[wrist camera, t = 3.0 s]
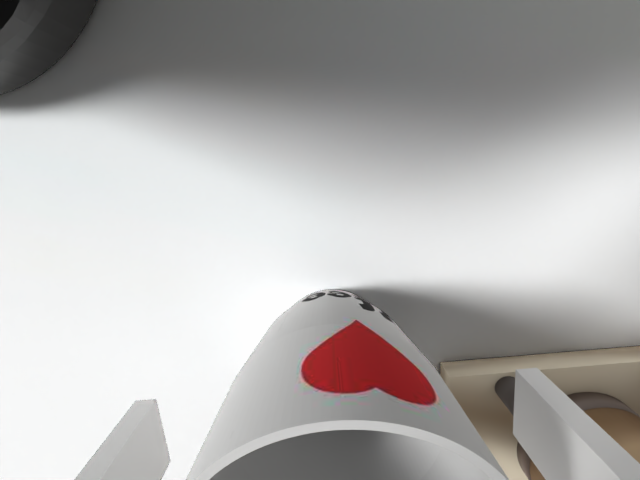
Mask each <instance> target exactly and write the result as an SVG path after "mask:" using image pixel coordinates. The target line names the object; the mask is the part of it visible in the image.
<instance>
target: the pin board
mask: <svg viewBox="0 0 640 480" xmlns="http://www.w3.org/2000/svg"><path fill="white" fill-rule="evenodd" d="M527 368H538V369H539V370H540V371H541V372H542V373H543V374H544V375H545V376H546V377H547V378H549V379H550V380H551V381H552V382H553V383H554V384H555V385H556V386H557V387H558V388H559V389H560V390H561V391H562V392H564V393H565V394H566V395H569V394H573V393H580V392H598V393H603V394H607V395H610V396H613V397H615V398H617V399H619V400H620V401H622V402H623V403H624V404H626V405H627V406H628V407H629V408H631V409H632V410H633V411H634V412H636V413H637V414H638V415H639V416H640V346H631V347H619V348H607V349H595V350H584V351H572V352H560V353H548V354H536V355H524V356H512V357H500V358H488V359H476V360H464V361H452V362H440V376H441V377H442V379H443V380H444V382H445V383H446V385H447V386H448V388H449V389H450V391H451V393H452V394H453V396H454V397H455V399H456V400H457V402H458V403H459V405H460V406H461V408H462V409H463V411H464V412H465V414H466V415H467V417H468V418H469V420H470V421H471V423H472V424H473V426H474V427H475V429H476V430H477V432H478V433H479V435H480V436H481V438H482V439H483V441H484V442H485V444H486V445H487V447H488V448H489V450H490V451H491V453H492V454H493V456H494V457H495V459H496V460H497V462H498V463H499V465H500V466H501V468H502V469H503V471H504V473H505V474H506V476H507V477H508V479H509V480H528V478H527V476H526V475H525V473H524V472H523V470H522V468H521V467H520V464H519V462H518V458H517V443H518V440H517V439H516V438H515V436H514V435H513V417H514V394H515V371H516V369H527Z"/></svg>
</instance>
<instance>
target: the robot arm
mask: <svg viewBox="0 0 640 480" xmlns="http://www.w3.org/2000/svg"><path fill="white" fill-rule="evenodd" d="M96 1H97V0H0V94H3V93H6V92H9V91H11V90H14V89H16V88H18V87H21V86H23V85H25V84H26V83H28V82H30V81H32V80H34V79H35V78H37V77H38V76H40V75H41V74H42V73H44V72H45V71H46V70H48V69H49V68H50V67H51V66H53V65H54V64H55V63H56V62H57V61H58V60H59V59H60V58H61V57H62V56H63V55H64V54H65V53H66V51H67V50H68V49H69V48H70V47H71V46H72V44H73V43H74V41H75V40H76V39H77V37H78V36H79V34H80V33H81V31H82V29H83V28H84V26H85V24H86V23H87V21H88V19H89V17H90V15H91V13H92V11H93V9H94V6H95V3H96ZM513 435H514V436H515V438H516V439H517V440H518V442H519V443H520V445H521V446H522V447H523V449H524V450H525V452H526V453H527V454H528V456H529V457H530V459H531V460H532V461H533V463H534V464H535V466H536V467H537V468H538V470H539V471H540V472H541V474H542V475H543V477H544V478H545V479H546V480H640V464H639V463H638V462H637V461H636V460H635V459H634V458H633V457H632V456H631V455H630V454H629V453H628V452H627V451H626V450H625V449H623V448H622V447H621V446H620V445H619V444H618V443H617V442H616V441H615V440H614V439H613V438H612V437H611V436H610V435H608V434H607V433H606V432H605V431H604V430H603V429H602V428H601V427H600V426H599V425H598V424H597V423H596V422H595V421H593V420H592V419H591V418H590V417H589V416H588V415H587V414H586V413H585V412H584V411H583V410H582V409H581V408H580V407H578V406H577V405H576V404H575V403H574V402H573V401H572V400H571V399H570V398H569V397H568V396H567V395H566V394H565V393H564V392H562V391H561V390H560V389H559V388H558V387H557V386H556V385H555V384H554V383H553V382H552V381H551V380H550V379H549V378H547V377H546V376H545V375H544V374H543V373H542V372H541V371H540V370H539V369H538V368H527V369H516V371H515V394H514V417H513ZM169 463H170V457H169V452H168V448H167V444H166V439H165V435H164V431H163V426H162V422H161V418H160V414H159V409H158V405H157V401H156V399H152V400H140V401H135V402H134V404H133V405H132V406H131V407H130V409H129V410H128V411H127V413H126V414H125V415H124V416H123V418H122V419H121V420H120V422H119V423H118V424H117V425H116V427H115V428H114V429H113V431H112V432H111V433H110V434H109V436H108V437H107V438H106V440H105V441H104V442H103V443H102V445H101V446H100V447H99V449H98V450H97V451H96V453H95V454H94V455H93V456H92V458H91V459H90V460H89V462H88V463H87V464H86V465H85V467H84V468H83V469H82V471H81V472H80V473H79V474H78V476H77V477H76V478H75V480H161V479H162V477H163V475H164V473H165V471H166V469H167V467H168V465H169Z"/></svg>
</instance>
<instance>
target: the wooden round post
mask: <svg viewBox="0 0 640 480" xmlns="http://www.w3.org/2000/svg"><path fill="white" fill-rule="evenodd" d="M567 396H568V397H569V398H570V399H571V400H572V401H573V402H574V403H575V404H576V405H577V406H578V407H580V408H581V409H582V410H583V411H584V412H585V413H586V414H587V415H588V416H589V417H590V418H591V419H592V420H593V421H595V422H596V423H597V424H598V425H599V426H600V427H601V428H602V429H603V430H604V431H605V432H606V433H607V434H608V435H610V436H611V437H612V438H613V439H614V440H615V441H616V442H617V443H618V444H619V445H620V446H621V447H622V448H623V449H625V450H626V451H627V452H628V453H629V454H630V455H631V456H632V457H633V458H634V459H635V460H636V461H637V462H638V463H639V464H640V416H639V415H638V414H637V413H636V412H634V411H633V410H632V409H631V408H629V407H628V406H627V405H626V404H624V403H623V402H622V401H620V400H619V399H617V398H615V397H613V396H610V395H607V394H603V393H598V392H580V393H573V394H569V395H567ZM517 458H518V462H519V464H520V467H521V468H522V470H523V472H524V473H525V475H526V476H527V478H528V480H546V479H545V478H544V477H543V475H542V474H541V472H540V471H539V470H538V468H537V467H536V466H535V464H534V463H533V461H532V460H531V459H530V457H529V456H528V454H527V453H526V452H525V450H524V449H523V447H522V446H521V445H520V443H519V442H518V443H517Z"/></svg>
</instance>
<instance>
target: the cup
mask: <svg viewBox="0 0 640 480" xmlns="http://www.w3.org/2000/svg"><path fill="white" fill-rule="evenodd" d="M186 480H509V479H508V477H507V476H506V474H505V473H504V471H503V469H502V468H501V466H500V465H499V463H498V462H497V460H496V459H495V457H494V456H493V454H492V453H491V451H490V450H489V448H488V447H487V445H486V444H485V442H484V441H483V439H482V438H481V436H480V435H479V433H478V432H477V430H476V429H475V427H474V426H473V424H472V423H471V421H470V420H469V418H468V417H467V415H466V414H465V412H464V411H463V409H462V408H461V406H460V405H459V403H458V402H457V400H456V399H455V397H454V396H453V394H452V393H451V391H450V389H449V388H448V386H447V385H446V383H445V382H444V380H443V379H442V377H441V376H440V374H439V373H438V371H437V370H436V369H435V367H434V366H433V365H432V364H431V362H430V361H429V360H428V359H427V358H426V357H425V356H424V355H423V354H422V352H421V351H420V350H419V349H418V348H417V347H416V346H415V345H414V343H413V342H412V341H411V340H410V339H409V338H408V337H407V336H406V335H405V333H404V332H403V331H402V330H401V329H400V328H399V327H398V326H397V325H396V323H395V322H394V321H393V320H392V319H391V318H390V317H389V316H388V315H387V314H385V313H384V312H383V311H382V310H380V309H379V308H377V307H375V306H374V305H372V304H370V303H369V302H367V301H365V300H364V299H362V298H360V297H359V296H357V295H355V294H352V293H350V292H347V291H342V290H322V291H317V292H314V293H311V294H309V295H307V296H305V297H304V298H302V299H301V300H299V301H298V302H297V303H295V304H294V305H293V306H292V307H290V308H289V309H288V310H287V311H285V312H284V313H283V314H282V315H281V316H279V317H278V318H277V319H276V320H275V321H274V323H273V324H272V325H271V326H270V328H269V329H268V331H267V332H266V333H265V335H264V336H263V338H262V339H261V341H260V342H259V344H258V345H257V347H256V348H255V350H254V351H253V353H252V354H251V356H250V357H249V358H248V360H247V361H246V363H245V364H244V366H243V367H242V369H241V370H240V372H239V373H238V375H237V376H236V378H235V380H234V381H233V383H232V385H231V387H230V389H229V391H228V393H227V396H226V398H225V400H224V402H223V404H222V406H221V408H220V410H219V412H218V414H217V416H216V418H215V420H214V422H213V425H212V427H211V429H210V431H209V433H208V435H207V437H206V439H205V441H204V443H203V445H202V447H201V449H200V451H199V454H198V456H197V458H196V460H195V462H194V464H193V466H192V468H191V470H190V472H189V474H188V476H187V478H186Z"/></svg>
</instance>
